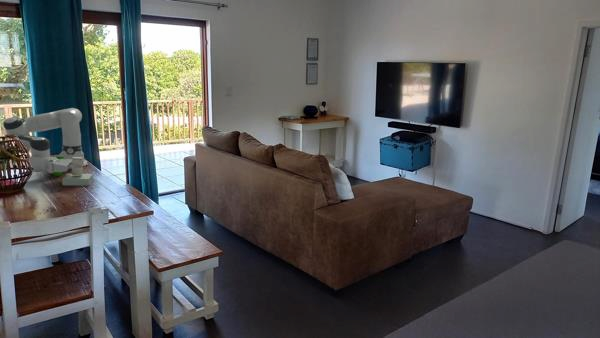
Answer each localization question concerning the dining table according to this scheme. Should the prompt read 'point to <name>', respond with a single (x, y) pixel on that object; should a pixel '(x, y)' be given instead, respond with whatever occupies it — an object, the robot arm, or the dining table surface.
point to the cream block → (78, 162)
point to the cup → (58, 172)
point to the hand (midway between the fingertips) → (79, 165)
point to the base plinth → (77, 179)
